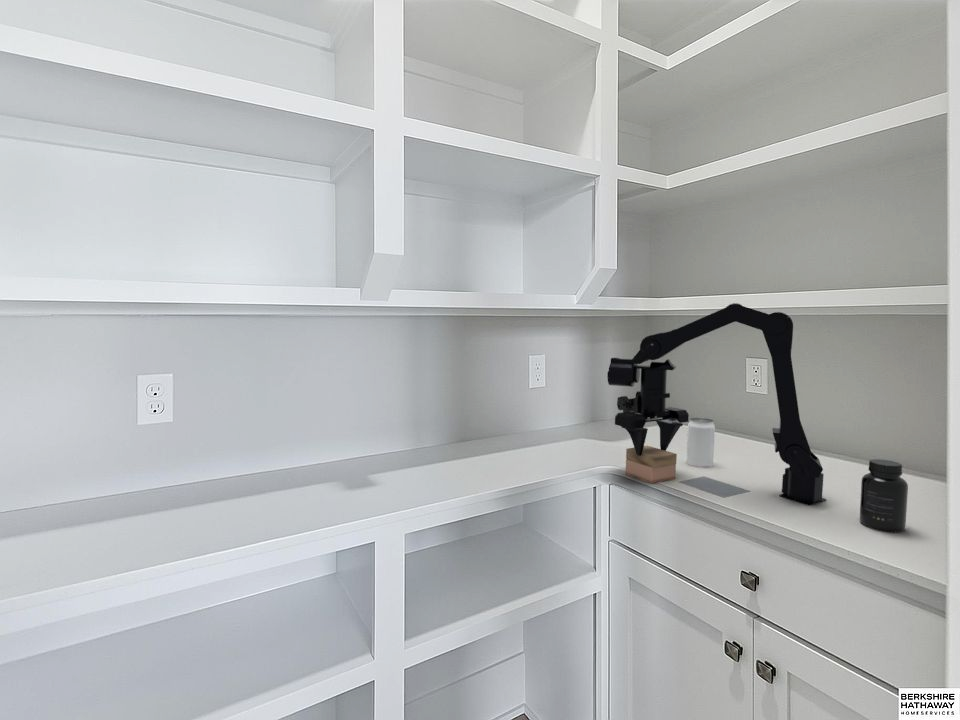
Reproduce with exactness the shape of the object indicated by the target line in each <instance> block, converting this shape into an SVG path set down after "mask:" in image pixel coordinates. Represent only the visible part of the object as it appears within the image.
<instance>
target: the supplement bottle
mask: <svg viewBox="0 0 960 720" xmlns="http://www.w3.org/2000/svg"><path fill="white" fill-rule="evenodd" d="M868 471H869V473H866V474H864V475H863V476H862V478H861V483H860V485H861V486H860V503H859V504H860V505H859V521H860V523H861V524H862V525H864V526H865V527H867V528H870V529H873V530H877V531H880V532H884V533H885V532H886V533H887V532H888V533H900V532H903V531H904V530H906V524H907V511H908V510H907V508H908V493H909V485H908V482H907V481H906V480H905V479H904V478H902V477H901V476H902V475H903V465H902V463H900V462H897V461H894V460H889V459H878V458H875V459H870V460H869V463H868Z"/></svg>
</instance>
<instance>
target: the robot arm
mask: <svg viewBox="0 0 960 720" xmlns="http://www.w3.org/2000/svg"><path fill="white" fill-rule="evenodd" d="M735 322H736V323H739V324H742V325H745V326H748V327H751V328H754V329H756V330H760V331H762V334H763V336H764V340H765V343H766V345H767V349H768V352H769V354H770V357H771V363H772V370H773V378H774V385H775V392H776V398H777V399H776V400H777V406H778V411H779V412H778V413H779V428H777V427H773V428H771V429H772V430H771V431H772V435H773V438H774V441H775V443H774V452H775V453H778V454H779V458H780V459H781V461H782V462H784V463H785V464H787V465H788V467H785V468H784V473H783V474H782V478H781V481H782V483H781V494H778V496H779V497H780V498H783V499H787V500H788V501H789V500H790V501H793V502H796V503H798V504H803V505H806V506H813V505H816V504H817V505H818V504H821V503H823V502H824V503H825V502H826V501H827V499H826V498H825V497H823V490H824V489H823V488H824V476H825V475H824V473H822V472H823V471H824V468H823V466H822V463H821V461H820V458H818V456H817V455H816V454H814V452H812V451H811V450H812V449H811V448H810V445H809V442H808V441H809V440H808V439H807V436H806V433H805V430H804V428H803V425H802V422H801V420H800V419H801V418H800V411H799V404H798V403H799V402H798V396H797V389H796V382H795V376H794V375H795V374H794V367H793V360H792V349H793V348H792V347H793V337H794V333H793V332H794V322H793V320H792V317H790V316H789V315H788V314H787V313H784V312H780V311H776V312H771V313H766V312H763V311H760V310H757V309H754V308H750V307H747V306H745V305H744V306H743V305H742V304H741V303H737V302H733V303H730V304H728V305H727V306H725V307H724V308H721V309H719V310H717V311H714V312H712V313H709V314H708V315H706V316H704V317H701V318H699V319H696V320H694V321H692V322H690V323H689V322H688V324H684V325H682V326H681V327H678V328H675V329H671V330H667V331H663V332H658V333H655V334H651V335H648V336H645V337H644V338H643V339H642V340H641V342H640V344H639V350H638V351H637V352H636V354H635V355H633V358H620V357H611V358H610V363H609V365H608V366H609V367H608V371H607V383H608V386H618V387H631V388H633V387H634V386H635V383H636V384H638V383H639V382H640V391H639V390H638V391H636V393H635V397H634V398H629V397H628V395H624V396H618V397H617V399H616V400H617V401H616V406H617V410H618V411H622V412H617V413H616V415H615V416H614V425H615V426H620V428H622V429H625V430H626V432H628V434H629V436H630V438H631V442H632V445H633V448H635V451H636V454H637V455H639V456H641V454H642V451H643V448H644V446H645V442H646V438H647V434H648V430H649V429H648V427H647V428H646V427H644V426H645V425H646V423H652V422H656V424H657V426H658V427H659V442H660V443H659V446H660V448H659V449H661V450H665V451H667V450H668V448H669V446H670V444H671V442H672V441H673V439H674V437H675V435H676V434H677V433H678V431H679V430H680V428H681V427H682V426H683V423H689V413H688V411H687V410H686V409H683V408H679V407H672V406H671V407H669V406H668V407H666V404H667V403H666V401H667V399H670V398H671V393H670V392H667V375H668V374H667V371H674V370H676V369H677V367H676V366H677V365H674V364H673V362H672V361H671V359H669V358H667V359H665V361H655V360H660V359H661V358H663V357H666V356H667V355H668V354H670V353H672V352H673V351H674V350H677V349H678V348H679V347H682V346H683V345H684V344H685V343H687V342H689V341H690V342H691V341H693V340H694V339H697V338H699V337H701V336H704V335H707V334H709V333H711V332H714V331H716V330H718V329H720V328H723V327H726V326H727V325H730V324H732V323H735ZM648 361H651V362H650V365H643V364H644V363H646V362H648ZM641 364H642V365H641Z"/></svg>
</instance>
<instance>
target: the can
mask: <svg viewBox="0 0 960 720" xmlns="http://www.w3.org/2000/svg"><path fill="white" fill-rule="evenodd" d="M715 432H716V428H715V423H714V420H713V419H710V418H708V417H707V418H706V417H691V418H690V419H689V421H688V422H687V434H686V436H687V438H686V439H687V440H686V460H685V461H686V464H687V465H689V466H693V467H696V468H697V467H698V468H711V467H713V466H714V457H715V455H714V453H715V437H716V435H715V434H716V433H715Z"/></svg>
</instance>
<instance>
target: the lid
mask: <svg viewBox="0 0 960 720" xmlns="http://www.w3.org/2000/svg"><path fill="white" fill-rule="evenodd" d="M625 451H626V454H625V460H626V459H628V460H631V461H634V462H637V463H640V464H643V465H646V466H650V467H653V468H659V467H665V466H670V465H675V464H676V465H677V453H675V452H671V451H668V450H666V451H665V450H661V448H658V447H654V446H650V445H644V448H643V451H642V454H641V456H639V455H637V454H636V451H635V448H634V447H629V448H626V449H625Z"/></svg>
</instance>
